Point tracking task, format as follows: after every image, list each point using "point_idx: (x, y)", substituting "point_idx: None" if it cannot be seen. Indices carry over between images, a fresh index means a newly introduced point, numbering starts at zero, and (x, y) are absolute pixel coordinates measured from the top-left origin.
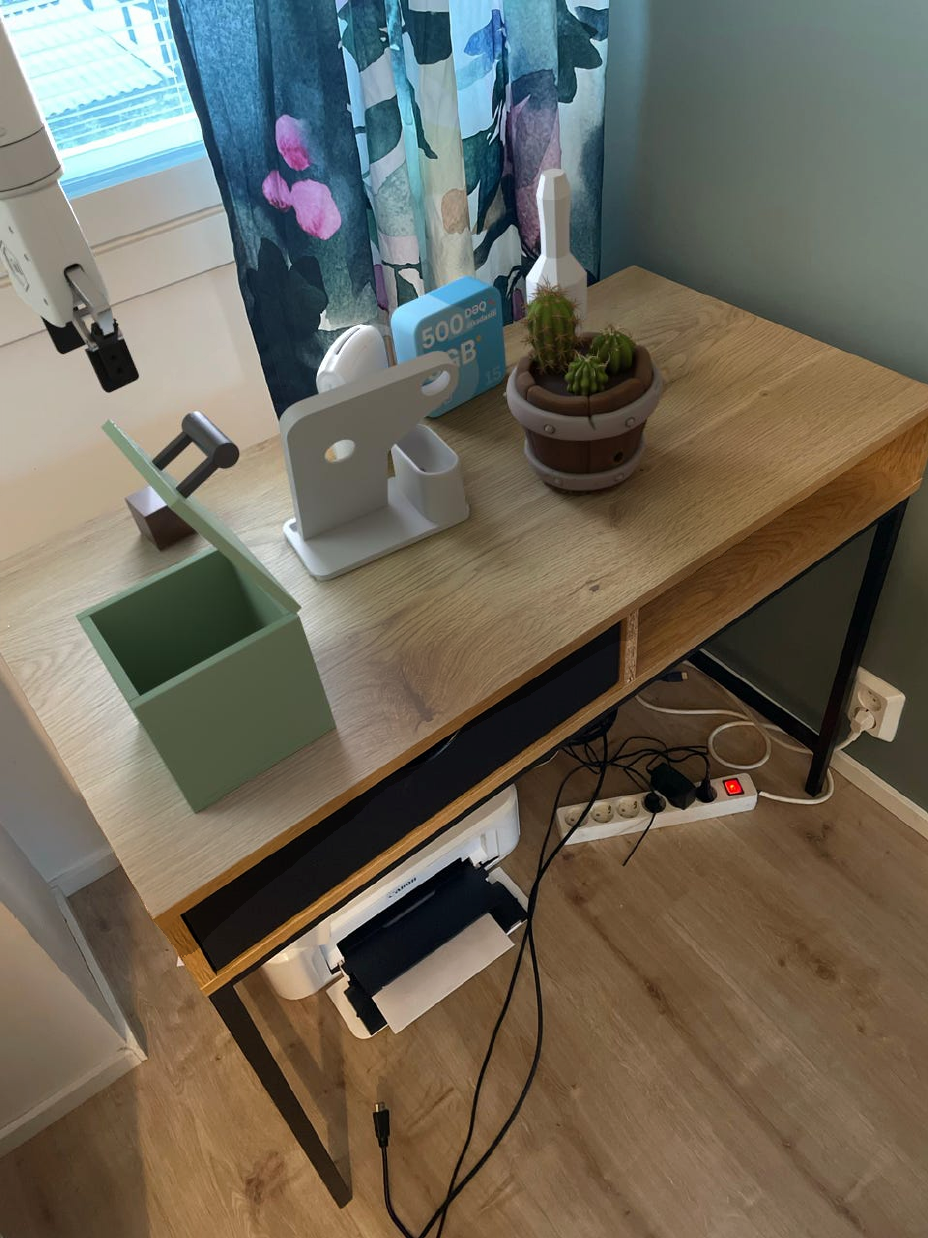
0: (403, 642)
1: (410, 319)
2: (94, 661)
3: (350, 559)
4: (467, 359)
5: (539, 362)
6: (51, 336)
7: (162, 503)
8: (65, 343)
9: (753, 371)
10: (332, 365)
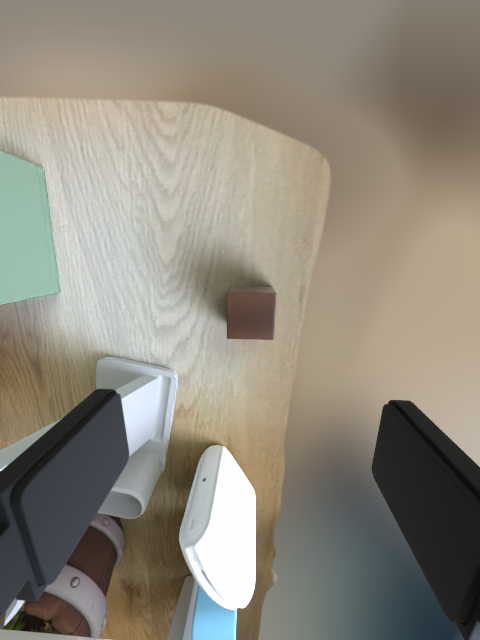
0: (13, 359)
1: (206, 630)
2: (136, 168)
3: (100, 384)
4: None
5: (52, 631)
6: (430, 437)
7: (233, 317)
8: (393, 435)
9: (107, 622)
10: (192, 555)
